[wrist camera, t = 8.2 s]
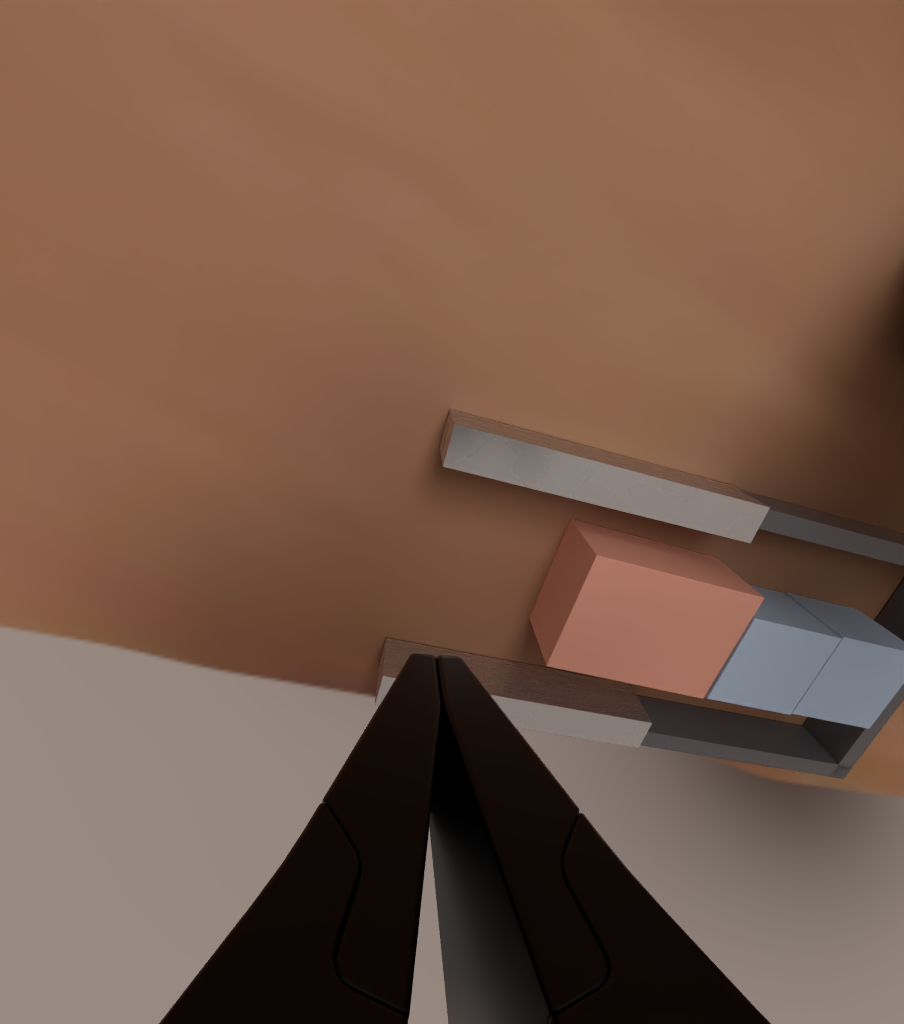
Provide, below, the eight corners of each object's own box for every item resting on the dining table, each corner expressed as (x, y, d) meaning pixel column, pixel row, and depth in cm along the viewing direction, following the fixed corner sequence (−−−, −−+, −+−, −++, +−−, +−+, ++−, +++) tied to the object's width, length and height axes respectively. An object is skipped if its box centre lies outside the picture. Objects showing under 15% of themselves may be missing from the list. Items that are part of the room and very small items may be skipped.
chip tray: (944, 544, 23) (1001, 571, 20) (808, 739, 27) (843, 778, 25) (731, 487, 21) (768, 509, 19) (619, 705, 25) (639, 745, 23)
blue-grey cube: (855, 607, 24) (924, 655, 21) (811, 674, 25) (869, 728, 22) (784, 590, 23) (843, 637, 20) (742, 659, 25) (791, 713, 21)
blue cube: (782, 591, 23) (841, 638, 20) (741, 660, 25) (790, 714, 21) (706, 573, 23) (755, 618, 19) (668, 645, 24) (707, 698, 21)
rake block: (714, 555, 22) (764, 597, 19) (664, 645, 24) (703, 698, 21) (569, 516, 21) (596, 555, 18) (528, 614, 23) (546, 665, 20)
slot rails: (730, 484, 21) (770, 507, 18) (617, 707, 25) (638, 748, 23) (450, 409, 19) (455, 423, 16) (378, 664, 23) (375, 704, 21)
